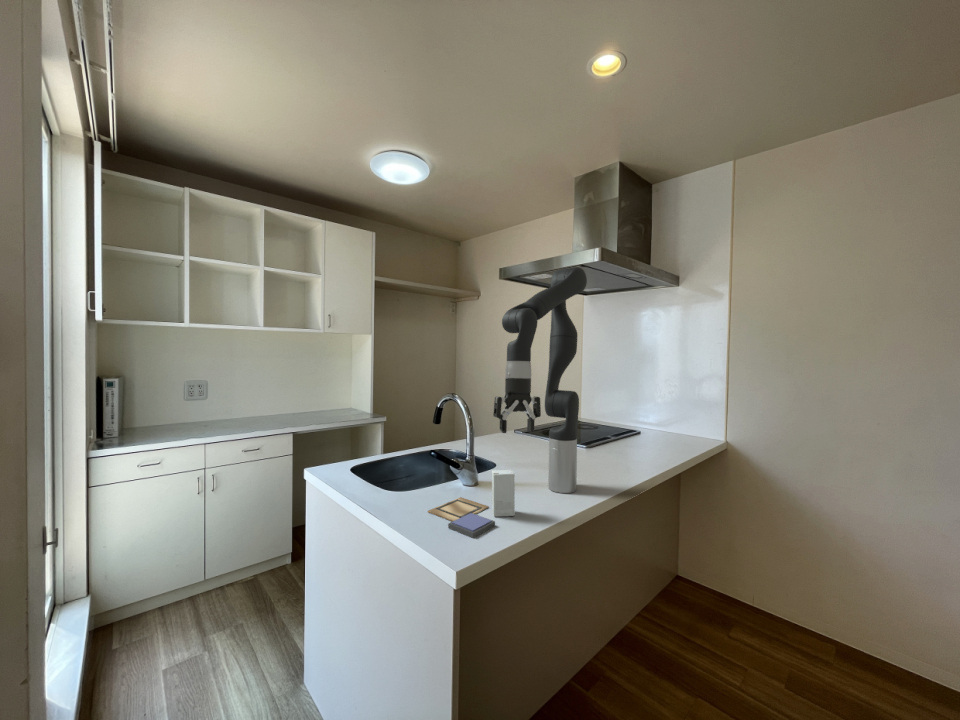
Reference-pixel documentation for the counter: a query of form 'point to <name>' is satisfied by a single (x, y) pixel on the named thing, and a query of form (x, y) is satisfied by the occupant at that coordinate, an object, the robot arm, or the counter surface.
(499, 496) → the skincare box
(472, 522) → the ink pad
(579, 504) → the counter surface
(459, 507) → the print sheet
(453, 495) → the counter surface
